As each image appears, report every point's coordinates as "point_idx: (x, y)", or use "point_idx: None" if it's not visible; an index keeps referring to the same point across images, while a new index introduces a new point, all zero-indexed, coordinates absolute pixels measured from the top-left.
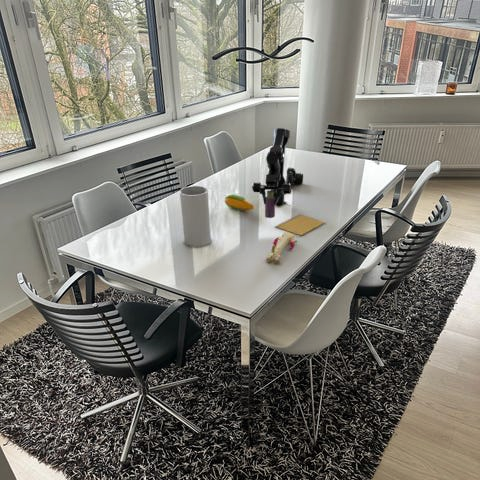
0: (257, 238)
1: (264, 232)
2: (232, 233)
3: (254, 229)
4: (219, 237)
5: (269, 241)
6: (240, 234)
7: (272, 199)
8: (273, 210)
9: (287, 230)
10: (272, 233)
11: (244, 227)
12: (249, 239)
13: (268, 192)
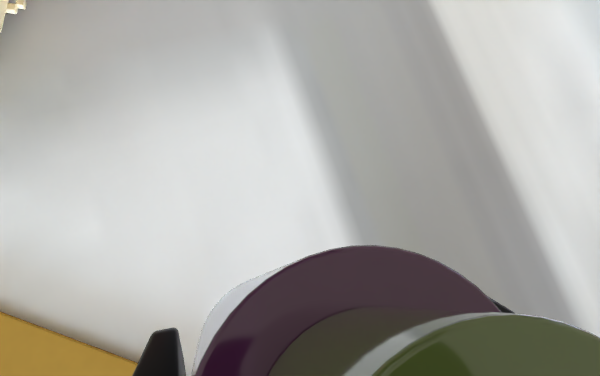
0: (295, 56)
1: (274, 204)
2: (541, 101)
3: (397, 244)
4: (594, 5)
5: (162, 21)
6: (470, 99)
7: (243, 301)
8: (207, 323)
9: (17, 320)
10: (184, 205)
11: (505, 259)
12: (356, 21)
13: (571, 334)
